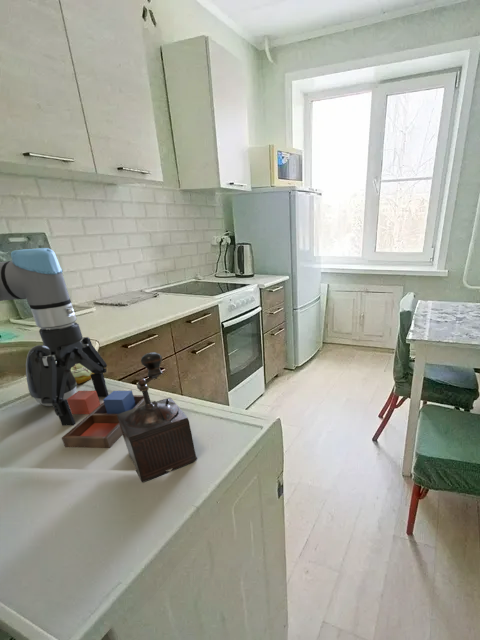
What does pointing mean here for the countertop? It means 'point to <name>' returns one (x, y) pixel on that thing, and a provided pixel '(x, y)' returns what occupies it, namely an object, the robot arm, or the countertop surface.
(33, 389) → the black tapered dome
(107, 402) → the slate-blue block
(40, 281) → the robot arm
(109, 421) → the tray
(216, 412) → the countertop surface
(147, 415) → the manual coffee grinder
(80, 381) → the decorated donut
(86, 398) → the terracotta block
